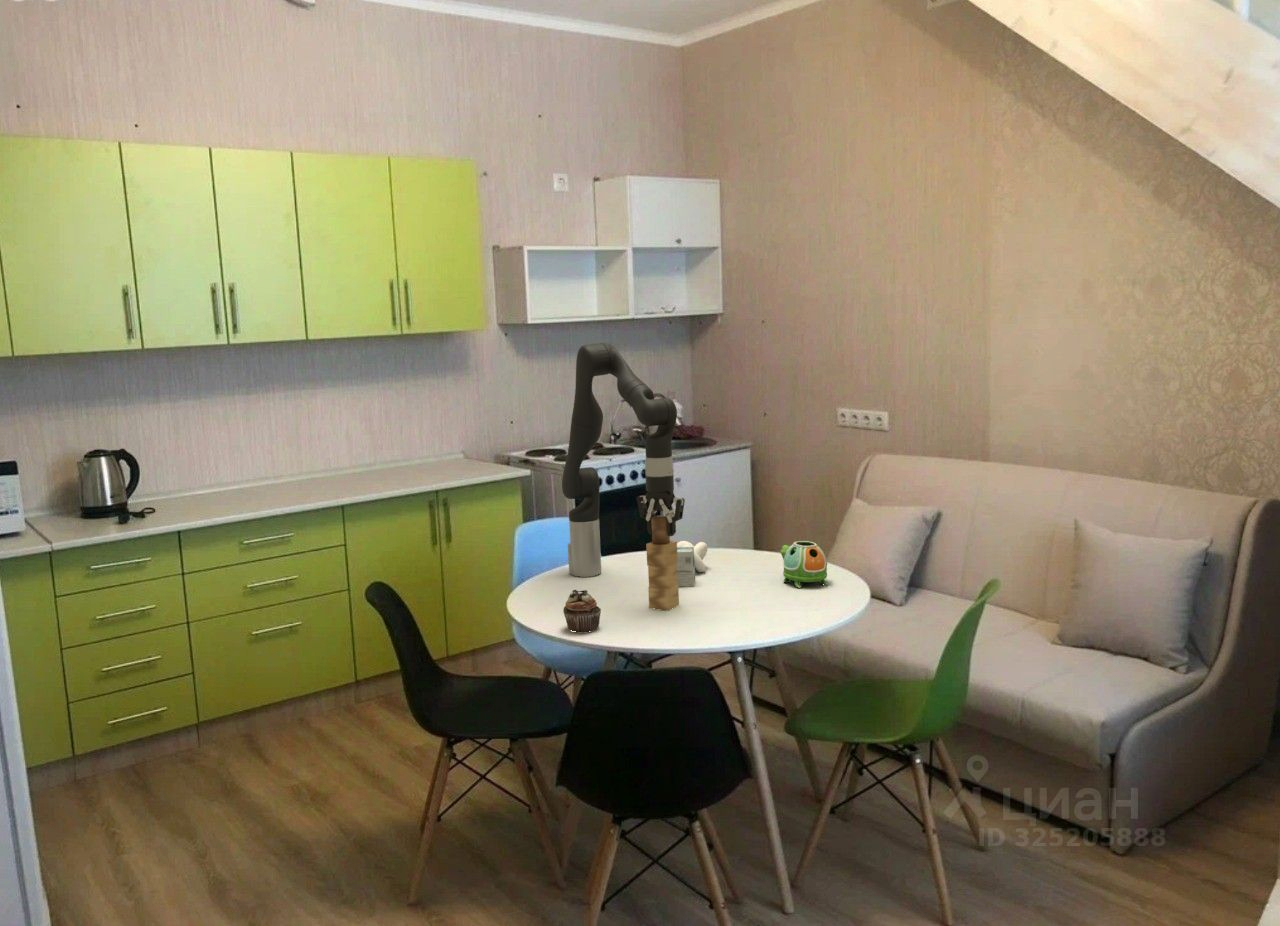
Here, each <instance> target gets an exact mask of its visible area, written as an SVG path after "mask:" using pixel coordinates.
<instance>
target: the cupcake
mask: <svg viewBox="0 0 1280 926" xmlns="http://www.w3.org/2000/svg"><path fill="white" fill-rule="evenodd" d="M597 605H598V603H597V601H596V599H595V598H594V597H593V596H592V595H591V594H590V593H589V591H588V590H586V589H583V590H577V589H573V590H572V592H570V594H569V596H568V597H567V599H566V602H565V606H564V607H563V616H564V618H565V620H566V624H567V630H568V629H570V630H572V631H576V632H588V633H590V632H589V631H593V630H595V631H597V630H598V629H599V626H600V619H601V612H602V608H600V607H599V606H597ZM597 628H598V629H597ZM596 629H597V630H596ZM593 632H594V631H593Z"/></svg>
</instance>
